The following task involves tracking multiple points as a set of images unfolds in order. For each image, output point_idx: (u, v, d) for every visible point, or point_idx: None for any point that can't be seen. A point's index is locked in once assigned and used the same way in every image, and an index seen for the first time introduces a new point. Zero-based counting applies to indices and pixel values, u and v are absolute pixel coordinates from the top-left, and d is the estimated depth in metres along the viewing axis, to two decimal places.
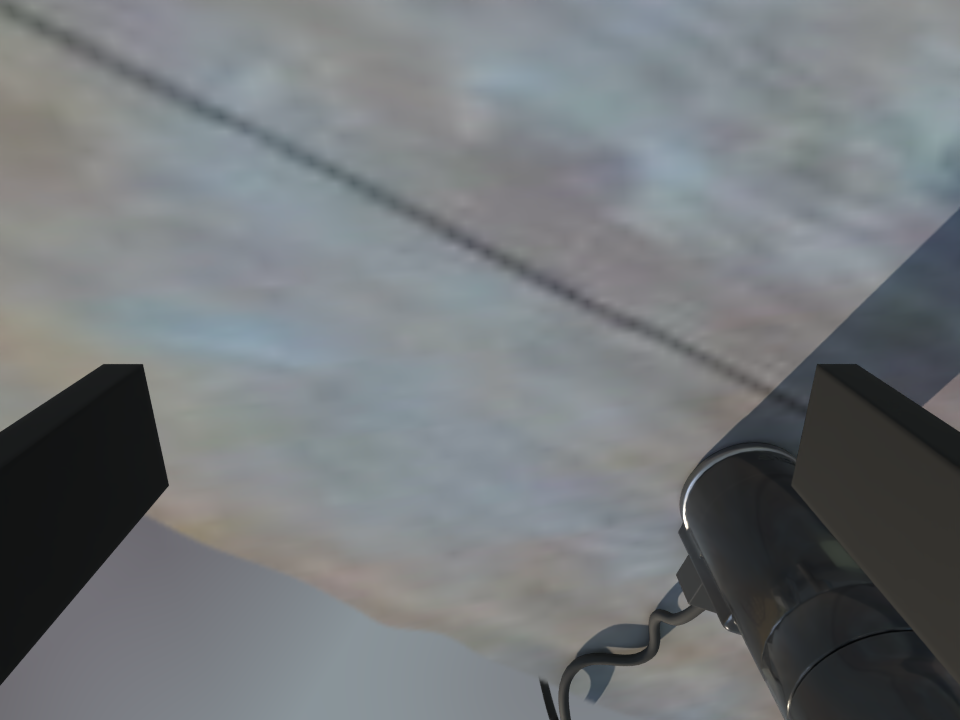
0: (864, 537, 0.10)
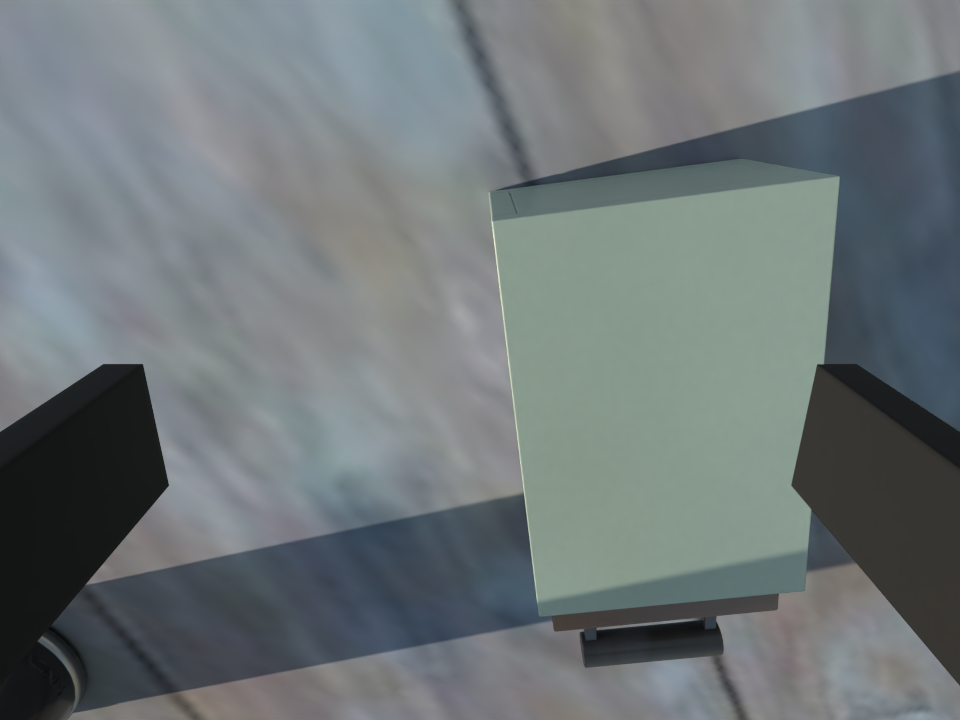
0: (864, 537, 0.10)
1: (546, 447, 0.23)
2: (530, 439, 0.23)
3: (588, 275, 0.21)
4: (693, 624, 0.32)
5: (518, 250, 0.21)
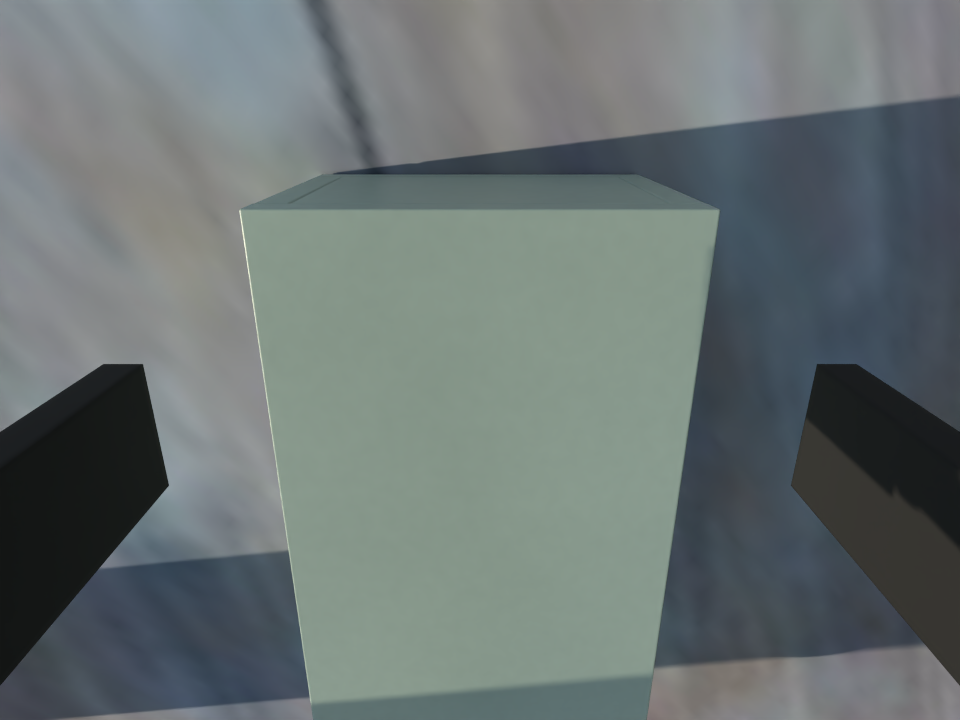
0: (864, 537, 0.10)
1: (320, 518, 0.18)
2: (299, 506, 0.17)
3: (375, 301, 0.15)
4: None
5: (277, 255, 0.15)
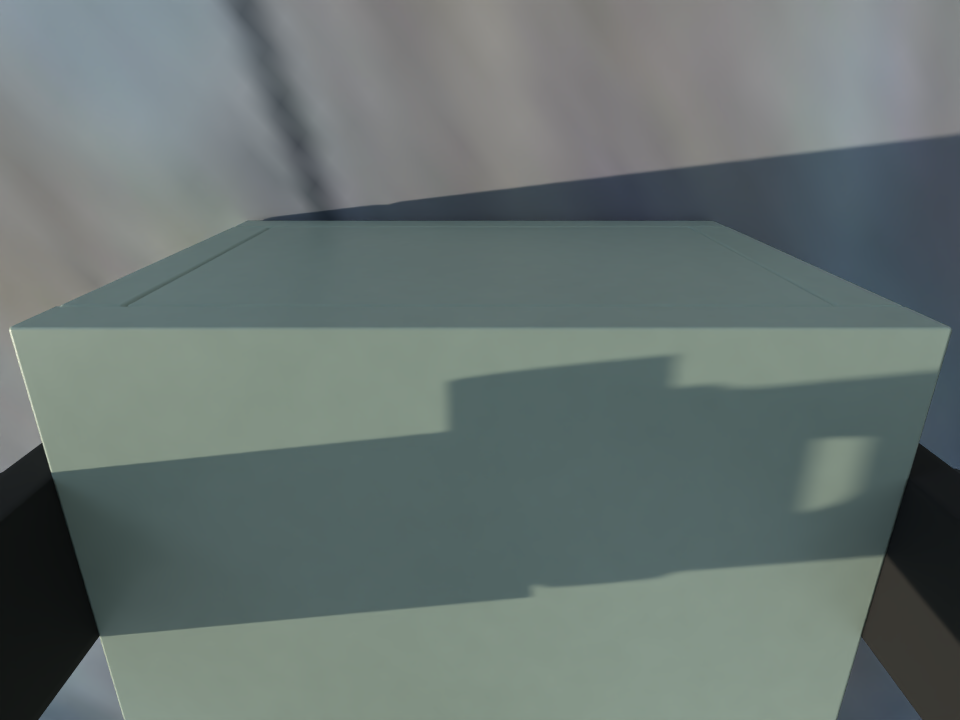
0: None
1: None
2: None
3: (284, 488, 0.08)
4: None
5: (91, 409, 0.08)
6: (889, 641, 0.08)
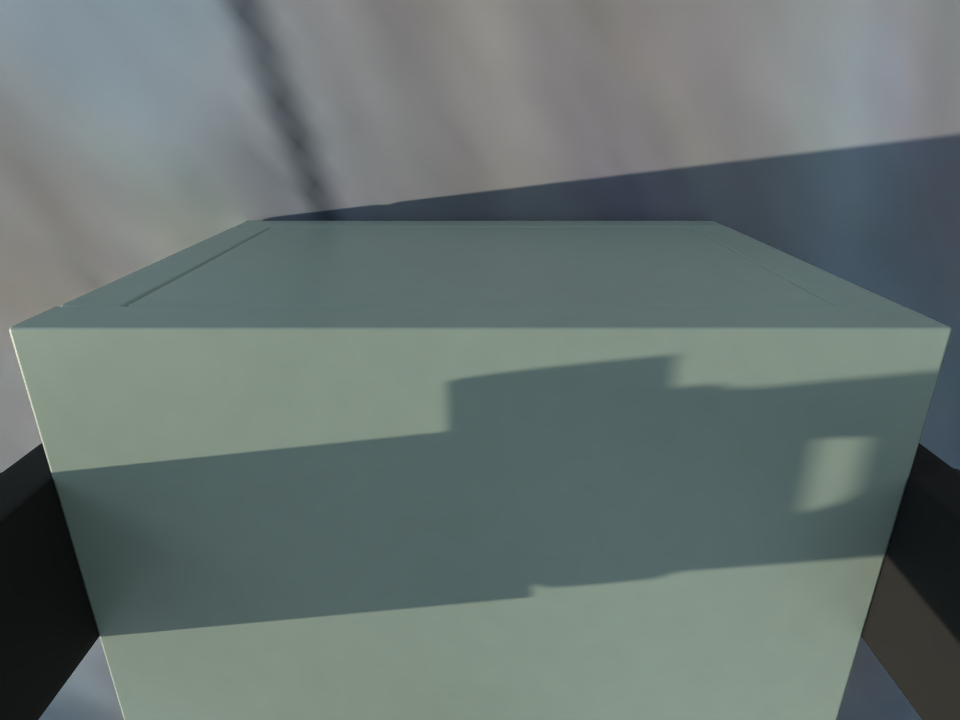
0: None
1: None
2: None
3: (283, 488, 0.08)
4: None
5: (91, 409, 0.08)
6: (890, 641, 0.08)
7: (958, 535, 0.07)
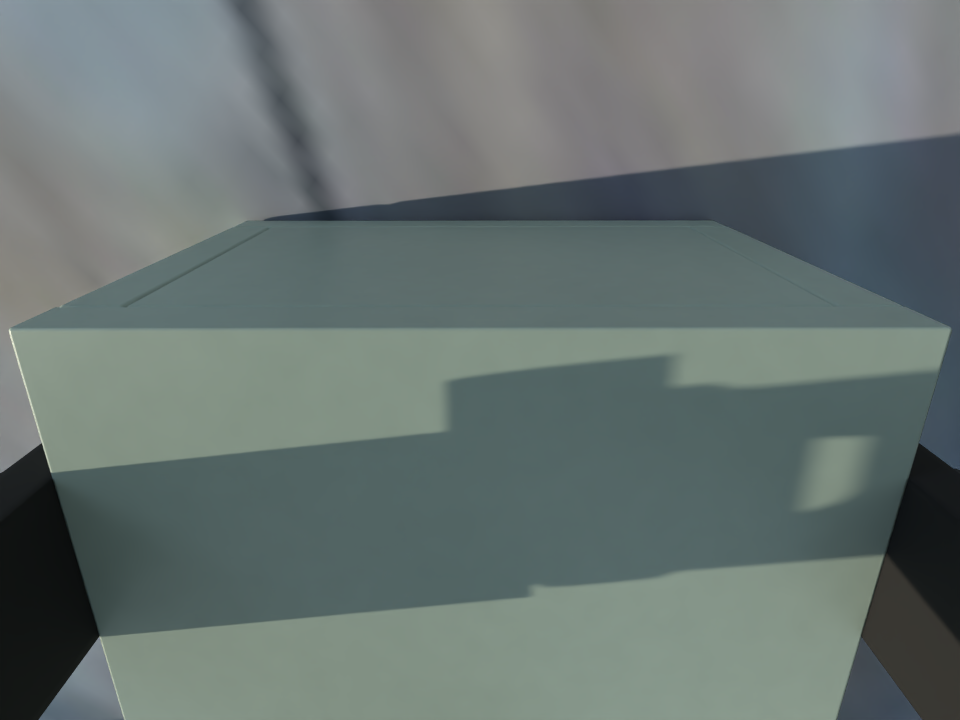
0: None
1: None
2: None
3: (284, 489, 0.08)
4: None
5: (91, 410, 0.08)
6: (889, 641, 0.08)
7: (958, 535, 0.07)
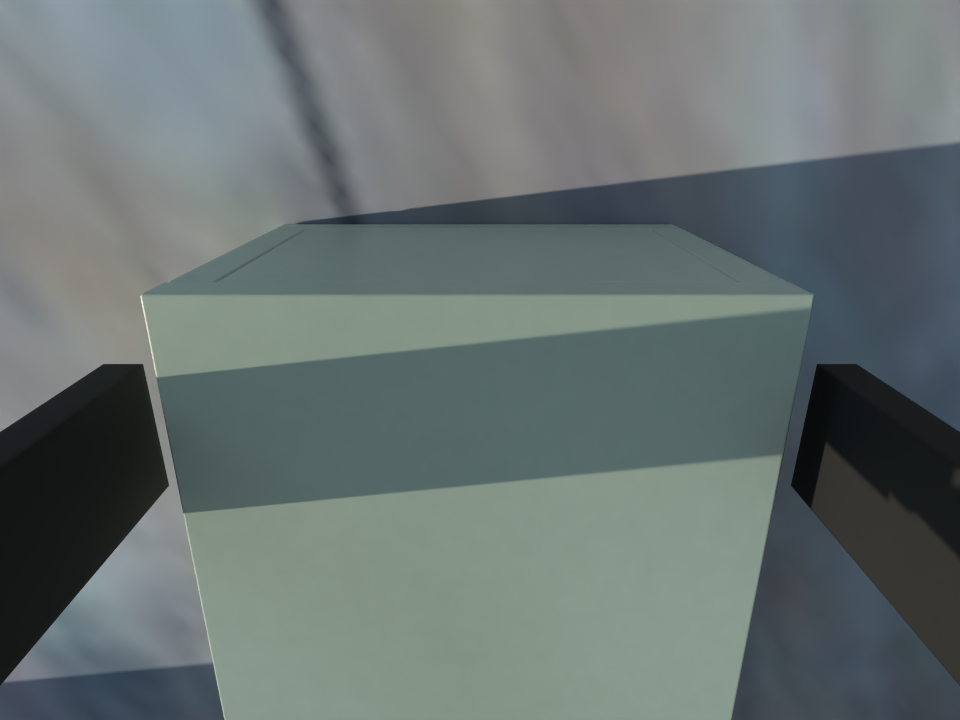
0: (864, 537, 0.10)
1: (265, 687, 0.13)
2: (236, 673, 0.13)
3: (332, 416, 0.11)
4: None
5: (195, 355, 0.11)
6: None
7: None
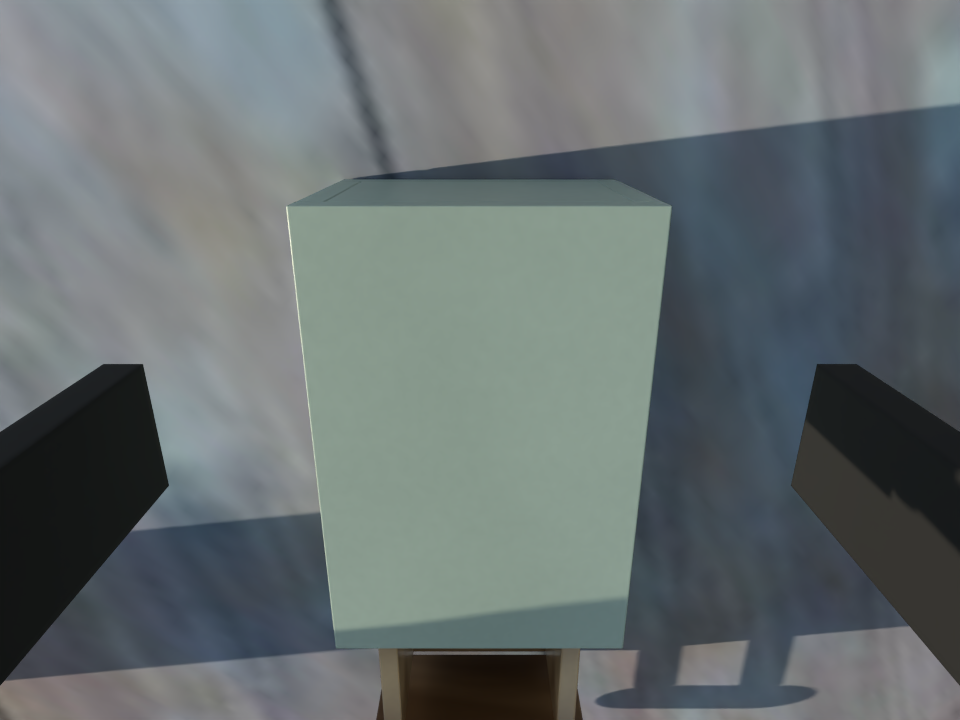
0: (864, 537, 0.10)
1: (345, 465, 0.21)
2: (327, 454, 0.21)
3: (394, 280, 0.19)
4: None
5: (315, 242, 0.18)
6: None
7: None
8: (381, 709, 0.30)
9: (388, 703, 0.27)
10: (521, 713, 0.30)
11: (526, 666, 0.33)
